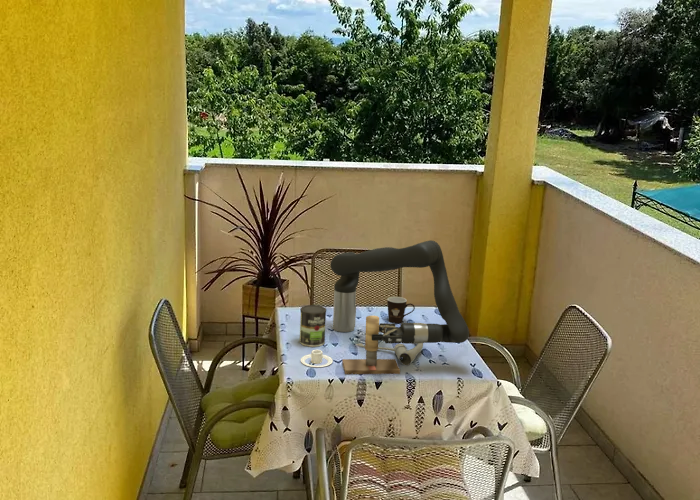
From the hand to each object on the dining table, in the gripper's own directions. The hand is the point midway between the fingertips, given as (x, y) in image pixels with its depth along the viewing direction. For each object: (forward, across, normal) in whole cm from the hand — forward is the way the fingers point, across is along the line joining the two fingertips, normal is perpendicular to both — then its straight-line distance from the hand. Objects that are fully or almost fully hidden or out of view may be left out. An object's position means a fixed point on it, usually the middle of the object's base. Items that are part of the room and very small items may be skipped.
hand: (370, 333), depth 243 cm
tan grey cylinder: (-1, 0, +12) cm, 12 cm away
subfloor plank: (-1, 0, +14) cm, 14 cm away
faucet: (-13, -20, +14) cm, 28 cm away
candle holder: (+19, -7, +14) cm, 24 cm away
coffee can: (+19, -26, +14) cm, 35 cm away
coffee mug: (-21, -50, +14) cm, 56 cm away
